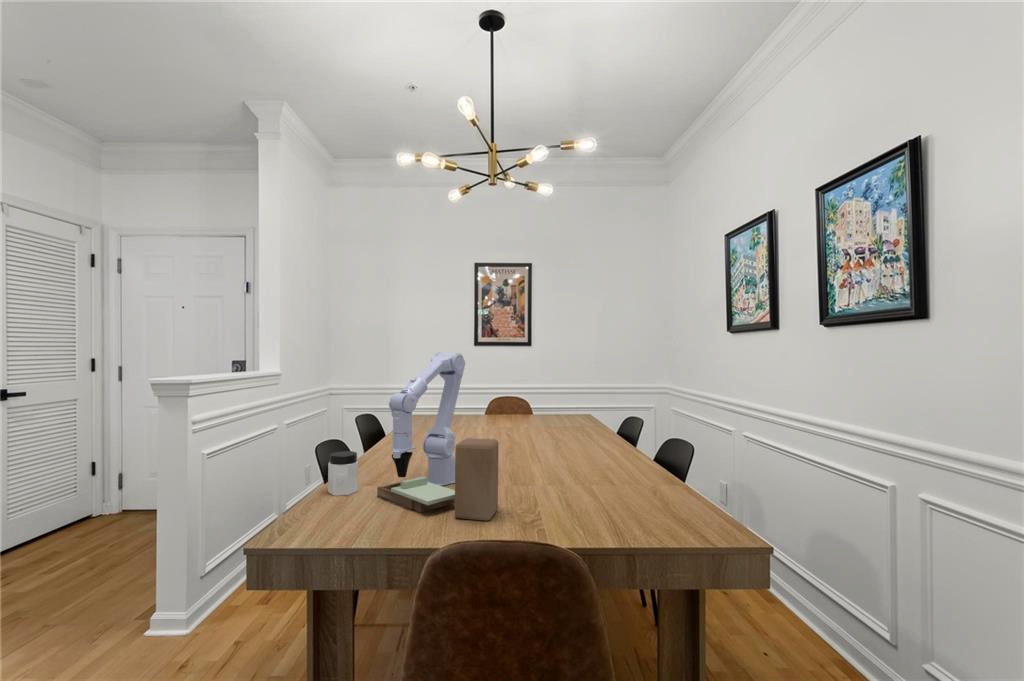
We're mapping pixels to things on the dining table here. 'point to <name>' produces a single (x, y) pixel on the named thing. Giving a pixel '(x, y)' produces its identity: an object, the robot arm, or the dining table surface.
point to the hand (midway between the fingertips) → (402, 476)
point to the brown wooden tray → (407, 499)
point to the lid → (423, 491)
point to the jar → (343, 473)
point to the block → (476, 479)
